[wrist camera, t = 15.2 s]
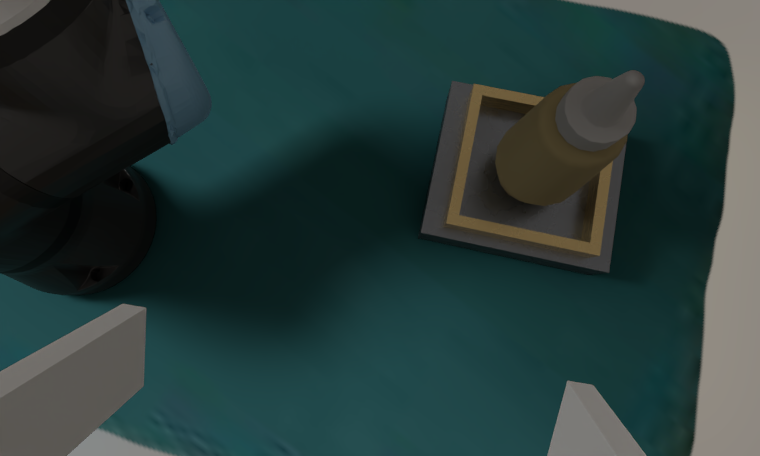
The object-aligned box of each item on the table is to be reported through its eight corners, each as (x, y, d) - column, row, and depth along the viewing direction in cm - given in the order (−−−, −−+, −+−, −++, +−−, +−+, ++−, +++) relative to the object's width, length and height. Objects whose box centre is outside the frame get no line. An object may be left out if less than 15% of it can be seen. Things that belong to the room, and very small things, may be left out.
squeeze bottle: (585, 172, 41) (738, 76, 23) (531, 231, 40) (646, 179, 22) (522, 118, 42) (622, -13, 24) (468, 175, 41) (530, 82, 23)
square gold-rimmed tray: (417, 238, 44) (422, 229, 38) (446, 99, 47) (455, 70, 41) (588, 274, 43) (620, 271, 37) (609, 131, 46) (642, 106, 40)
